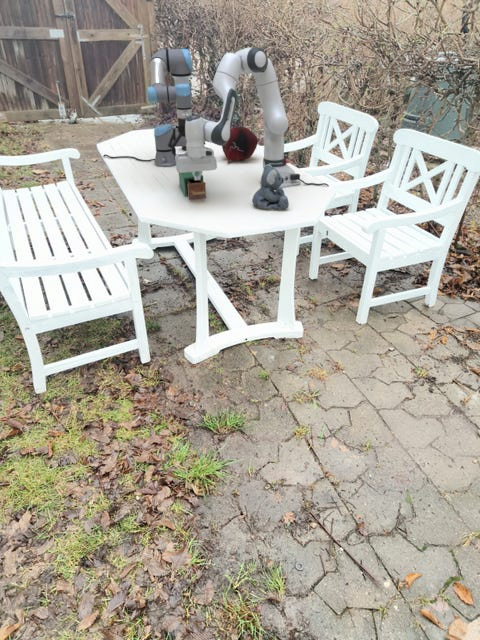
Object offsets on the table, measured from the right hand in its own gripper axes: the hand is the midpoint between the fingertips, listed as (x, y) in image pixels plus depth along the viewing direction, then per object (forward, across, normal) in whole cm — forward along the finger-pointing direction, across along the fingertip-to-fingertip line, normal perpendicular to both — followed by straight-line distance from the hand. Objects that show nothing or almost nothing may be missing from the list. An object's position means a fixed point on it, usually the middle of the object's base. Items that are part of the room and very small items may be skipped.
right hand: (197, 179), depth 227 cm
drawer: (+11, 0, +9) cm, 14 cm away
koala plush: (+12, +34, -15) cm, 39 cm away
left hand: (-3, 0, +27) cm, 27 cm away
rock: (+12, +13, +110) cm, 111 cm away
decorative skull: (+12, +42, +74) cm, 86 cm away
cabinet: (+12, 0, +21) cm, 24 cm away
